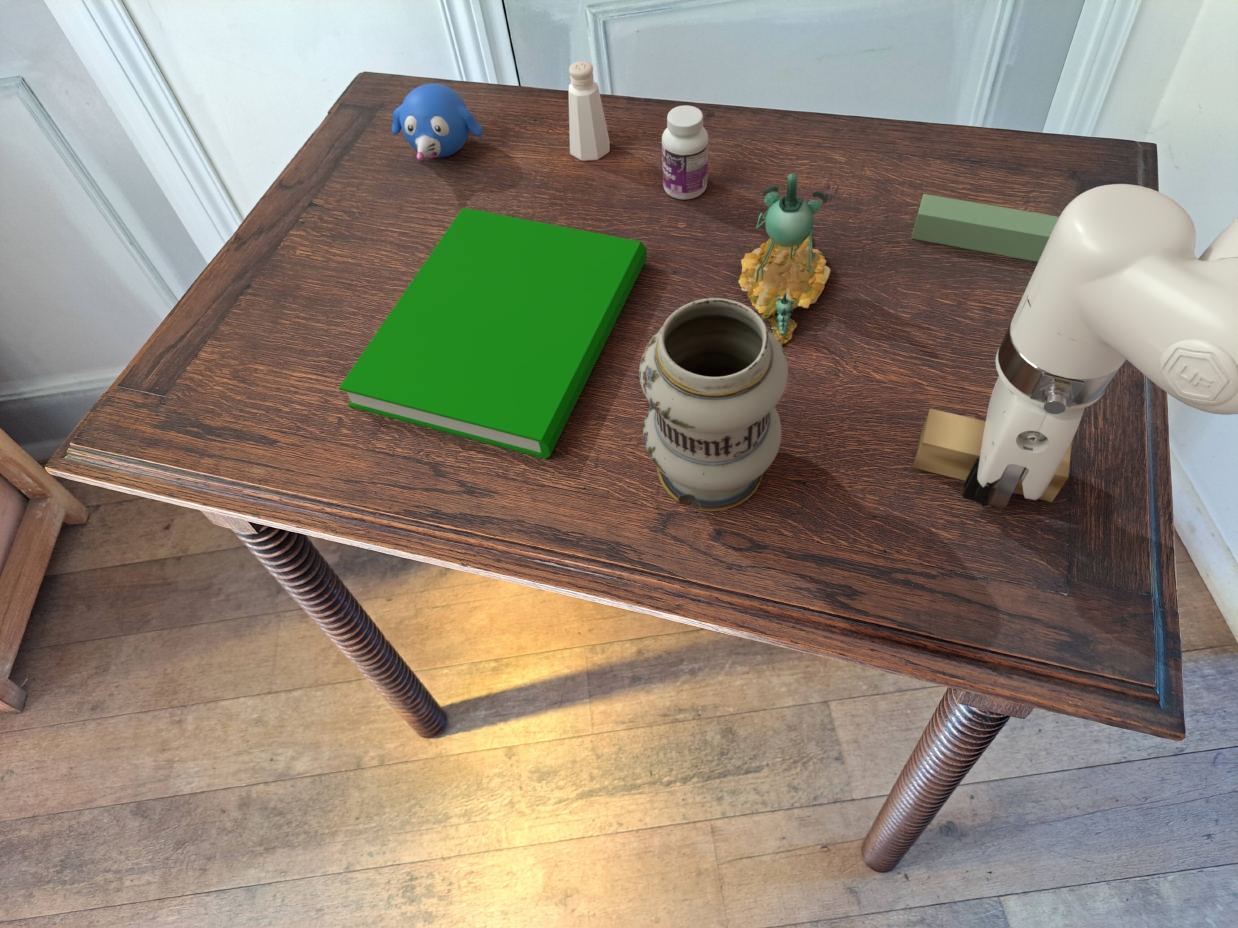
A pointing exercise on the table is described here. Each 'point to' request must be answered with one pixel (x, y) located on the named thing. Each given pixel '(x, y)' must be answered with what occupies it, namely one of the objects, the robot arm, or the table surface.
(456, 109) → the blue mole toy
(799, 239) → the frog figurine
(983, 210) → the green bar
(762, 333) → the apothecary jar
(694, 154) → the pill bottle
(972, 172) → the table surface
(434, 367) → the book
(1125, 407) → the table surface
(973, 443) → the brass block
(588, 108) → the salt shaker
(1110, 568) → the table surface
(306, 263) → the table surface
